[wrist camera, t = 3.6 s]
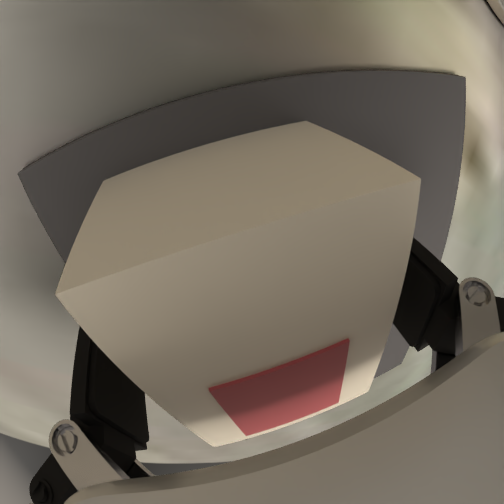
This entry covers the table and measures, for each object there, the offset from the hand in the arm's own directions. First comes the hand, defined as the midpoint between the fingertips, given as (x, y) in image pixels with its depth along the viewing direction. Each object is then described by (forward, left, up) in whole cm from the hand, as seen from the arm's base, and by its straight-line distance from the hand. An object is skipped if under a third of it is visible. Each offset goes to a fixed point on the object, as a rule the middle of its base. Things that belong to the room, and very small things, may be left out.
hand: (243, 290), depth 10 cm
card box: (0, 0, -2) cm, 2 cm away
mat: (+6, +3, -2) cm, 7 cm away
